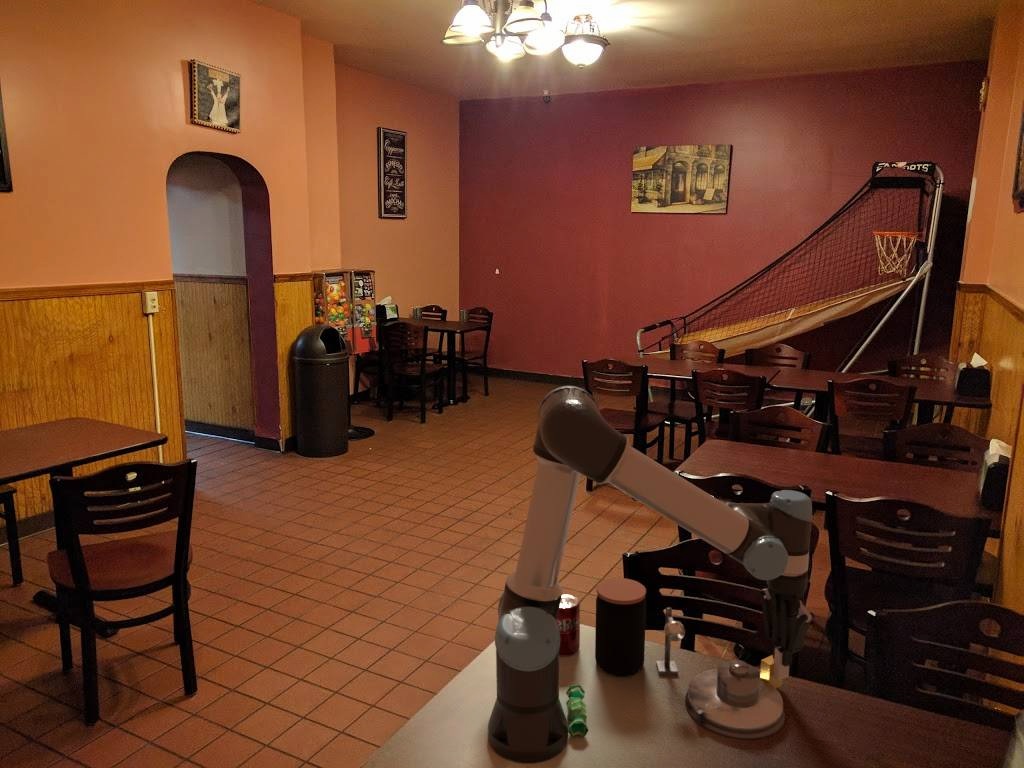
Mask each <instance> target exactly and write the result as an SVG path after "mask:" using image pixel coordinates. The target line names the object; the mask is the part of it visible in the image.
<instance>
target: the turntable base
mask: <svg viewBox="0 0 1024 768" xmlns="http://www.w3.org/2000/svg"><path fill="white" fill-rule="evenodd" d="M684 704H685V709H686V711H687V713H688V714H689V716H690V717H691V718H692V719H693V720H694V721H695V722H696V723H697V724H698V725H700V726H701V727H702V728H704V729H706V730H708V731H709V732H711V733H714V734H716V735H719V736H720V737H721V736H723V737H725V738H728V739H729V738H730V739H734V740H741V741H742V740H744V741H753V740H761V739H765V738H768V737H772V736H773V735H775V734H777V733H779V732H780V730H781V729H782V728H783V726H784V724H785V719H786V713H785V709H784V707H783V712H782V718H781V720H780V722H779V723H778V724H777V725H776V726H775V727H773V728H771V729H769V730H767V731H763V732H759V733H736V732H731V731H727V730H723V729H720V728H717V727H715V726H713V725H711V724H709V723H707V722H705V721H704V720H703V721H701V722H698V721H697V720H696V714H695V713H694V711H693V710H692V709H691V707H690V705H689V702H688V690H687V692H686V693H685V697H684Z"/></svg>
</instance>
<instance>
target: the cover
mask: <svg viewBox="0 0 1024 768" xmlns="http://www.w3.org/2000/svg"><path fill="white" fill-rule="evenodd" d="M717 669H718V670H717V689H716V694H717V696H718V698H719V699H720V700H721V701H723V702H724V703H726V704H728V705H730V706H733V707H738V708H748V707H752V706H754V705H755V704H757V702H758V699H759V683H760V672H759V670H758V669H757V668H756V667H754V666H753V665H751V664H749V663H747V662H746V661H745V660H744V661H743V660H741V659H734V660H728V661H724V662H721V663H720V664H719V665H718V666H717Z"/></svg>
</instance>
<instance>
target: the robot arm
mask: <svg viewBox="0 0 1024 768" xmlns="http://www.w3.org/2000/svg"><path fill="white" fill-rule="evenodd" d="M537 413H538V414H537V415H538V417H537V418H538V422H537V427H536V433H535V437H534V443H533V447H532V453H533V455H534V456H535V458H536V459H537V461H538V462H537V465H536V466H537V467H536V472H535V476H534V482H533V485H532V489H531V495H530V500H529V506H528V510H527V514H526V515H527V516H526V519H525V524H524V529H523V533H522V534H523V535H522V539H521V544H520V547H519V548H520V549H519V552H518V553H519V554H518V559H517V563H516V567H515V571H513V572H512V573H511V572H510V573H509V574H508V575H507V577H506V578H505V579H506V580H505V584H504V589H503V592H502V594H501V597H500V598H499V602H498V609H497V614H498V615H497V616H498V621H497V625H496V630H495V634H494V645H495V659H496V660H495V661H496V662H495V664H496V665H495V669H496V671H495V673H496V699H495V702H494V705H493V708H492V711H491V713H490V716H489V719H488V723H487V724H488V725H487V740H488V743H489V745H490V747H491V748H492V750H493V751H494V752H495V753H496V754H497V755H498V756H501V757H502V758H504V759H506V760H509V761H512V762H515V763H522V764H535V763H542V762H545V761H548V760H551V759H553V758H555V757H556V756H557V755H559V754H561V753H562V751H564V749H565V747H567V743H568V741H569V732H568V730H569V724H568V720H567V717H566V714H565V711H564V709H563V708H564V707H563V705H562V704H561V700H560V656H559V647H560V633H559V628H558V624H557V616H558V611H559V607H560V602H561V597H562V594H564V593H563V592H564V589H563V587H562V585H561V583H560V582H559V581H558V580H559V575H560V572H561V566H562V562H563V556H564V553H565V548H566V543H567V539H568V535H569V530H570V525H571V520H572V517H573V512H574V509H575V502H576V499H577V493H578V489H579V484H580V479H581V475H582V476H584V477H586V478H588V479H589V480H592V481H593V482H595V483H596V484H598V485H603V484H609V485H611V486H613V487H615V488H616V489H617V490H619V491H621V492H623V493H624V494H626V495H628V496H629V497H630V498H632V499H635V500H636V501H638V502H640V503H641V504H643V505H644V506H647V508H649V509H651V510H653V511H655V512H656V513H658V514H659V515H661V516H662V517H664V518H666V519H667V520H669V521H671V522H673V523H674V524H676V525H678V526H679V527H681V528H683V529H684V530H686V531H688V532H689V533H691V534H693V535H694V536H696V537H698V538H700V539H701V540H703V541H704V542H706V543H708V544H709V545H711V546H713V547H714V548H716V549H717V550H719V551H721V552H722V553H724V554H726V555H727V556H728V557H730V558H732V559H733V560H735V561H737V562H738V563H741V565H743V566H744V569H745V570H746V571H747V572H748V573H750V574H751V576H753V577H754V578H756V579H758V580H761V581H762V580H763V581H766V585H767V588H763V589H759V590H758V595H759V596H758V597H759V599H760V602H761V609H762V611H761V612H762V619H763V626H764V634H765V637H766V639H767V640H770V641H771V645H772V646H773V647H772V655H773V659H774V675H773V677H774V678H776V679H777V680H781V679H783V680H785V679H787V678H789V676H790V675H789V674H790V666H791V665H792V663H793V662H792V661H793V654H795V653H797V652H800V651H802V649H803V646H804V642H805V639H806V636H807V633H808V630H809V627H810V623H811V622H812V621H813V620H814V619H815V614H814V613H813V612H810V611H808V610H807V608H806V600H805V597H804V596H805V595H804V594H805V593H806V592H807V589H808V579H809V578H808V577H809V575H808V574H809V573H808V571H809V560H810V543H811V533H812V523H813V503H812V499H811V498H810V497H809V496H808V495H807V494H806V493H803V492H800V491H797V490H792V489H791V490H790V489H782V490H778V491H774V492H773V493H772V494H771V497H770V499H769V500H770V501H769V502H762V503H758V502H757V503H752V502H750V503H747V502H746V503H745V502H744V503H740V502H739V503H736V502H735V503H733V502H731V503H730V502H726V503H724V502H722V501H720V499H718V498H716V497H714V496H712V495H711V494H710V493H708V492H706V491H704V490H703V489H701V488H700V487H698V486H696V485H695V484H693V483H691V481H690V482H689V481H688V480H686V479H685V478H684V477H682V476H681V475H679V474H676V473H675V472H674V471H672V470H670V469H669V468H667V467H666V466H663V465H662V464H660V463H658V461H656V460H654V459H652V458H650V457H649V456H648V455H646V454H644V453H643V452H641V451H640V450H638V449H637V448H634V447H633V446H631V445H630V440H629V438H628V437H627V436H626V435H624V434H623V433H621V432H620V431H618V430H617V429H616V428H614V427H613V426H612V425H611V424H610V423H608V421H606V419H605V418H604V417H603V415H602V414H601V412H600V407H599V404H598V401H597V400H596V399H595V398H594V396H592V394H590V393H589V392H588V391H587V390H585V389H583V388H581V387H578V386H574V385H564V386H563V385H562V386H560V387H556V388H555V389H553V390H551V391H549V392H548V393H547V394H546V395H545V397H543V400H542V401H541V402H540V404H539V408H538V411H537Z"/></svg>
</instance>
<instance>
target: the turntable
mask: <svg viewBox="0 0 1024 768" xmlns="http://www.w3.org/2000/svg"><path fill="white" fill-rule="evenodd" d="M717 670H718V668H714V669H713V668H712V669H707V670H703V671H702V672H699V673H697V674H695V675H694V676H693V677H692V678H691V679H690V681H689V683H688V687H687V691H688V702H689V705H690V707H691V709H692V710H693V711H694V713H695V714H696V720H697V721H698V722H701V721H703V720H704V721H705V722H707V723H709V724H711V725H713V726H715V727H717V728H720V729H723V730H727V731H731V732H736V733H759V732H763V731H767V730H769V729H771V728H773V727H775V726H776V725H777V724H778V723H779V722H780V720H781V718H782V712H783V708H784V701H783V697H782V694H781V693H780V692H779V690H778V689H777V688H779V687H781V686H783V681H784V679H781V680H777V679H776V678H774V677H773V675H774V659H773V654H771V655H769V656H767V657H765V658H763V659H761V660H760V672H759V674H760V683H759V699H758V702H757V704H755V705H754V706H752V707H748V708H738V707H733V706H730V705H728V704H726V703H724V702H723V701H721V700H720V699H719V698H718V696H717V694H716V689H717Z"/></svg>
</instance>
